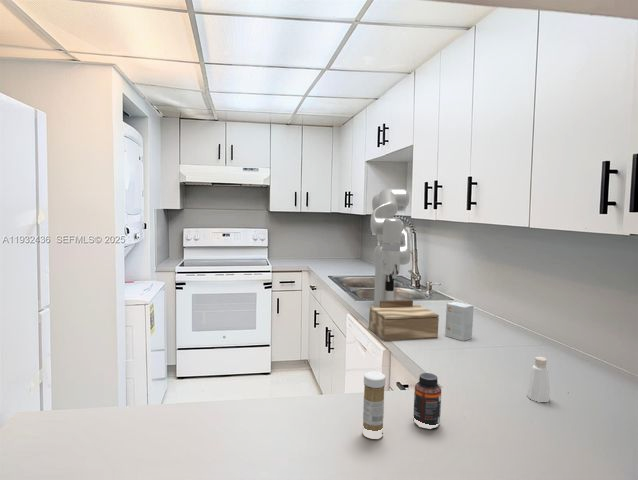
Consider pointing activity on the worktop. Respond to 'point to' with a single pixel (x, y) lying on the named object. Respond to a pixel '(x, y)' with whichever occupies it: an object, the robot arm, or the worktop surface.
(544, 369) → the pepper shaker
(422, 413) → the supplement bottle
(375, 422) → the sprinkles bottle
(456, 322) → the small box
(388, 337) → the mailer box
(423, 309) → the mailer lid
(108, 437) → the worktop surface
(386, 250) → the robot arm
